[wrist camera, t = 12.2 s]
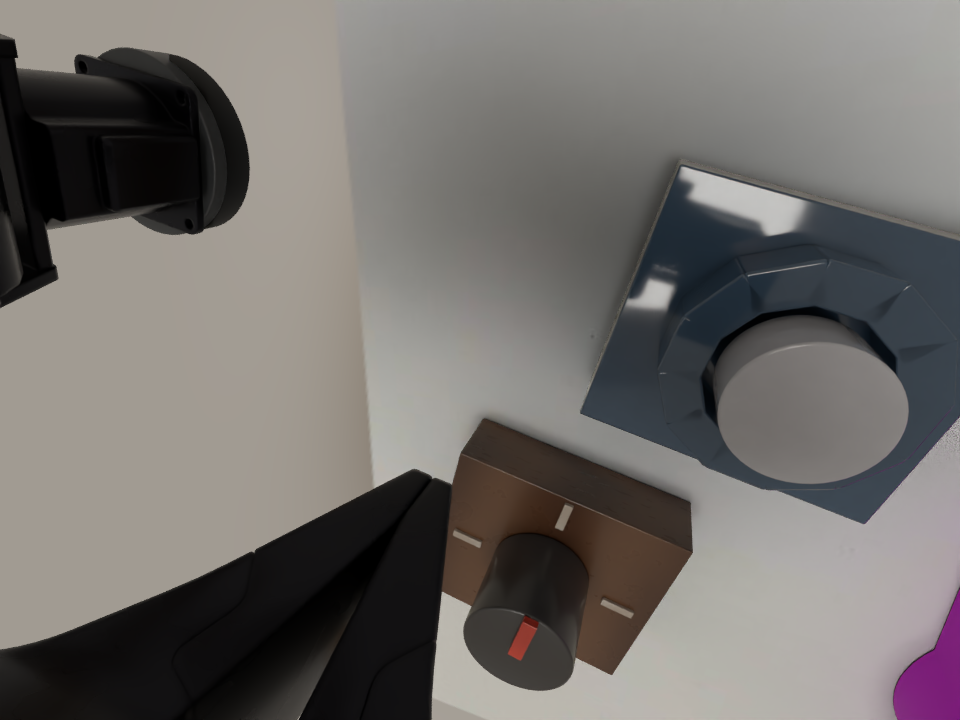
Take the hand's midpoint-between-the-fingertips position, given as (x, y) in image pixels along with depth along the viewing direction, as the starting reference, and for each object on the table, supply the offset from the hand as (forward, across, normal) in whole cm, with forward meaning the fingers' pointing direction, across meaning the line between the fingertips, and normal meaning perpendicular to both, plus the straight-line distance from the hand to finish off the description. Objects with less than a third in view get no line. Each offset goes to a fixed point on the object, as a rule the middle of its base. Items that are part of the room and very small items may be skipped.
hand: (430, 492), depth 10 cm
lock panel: (+12, -4, +11) cm, 17 cm away
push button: (+8, -8, -2) cm, 11 cm away
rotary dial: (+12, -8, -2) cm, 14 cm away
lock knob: (+9, -3, +11) cm, 15 cm away
